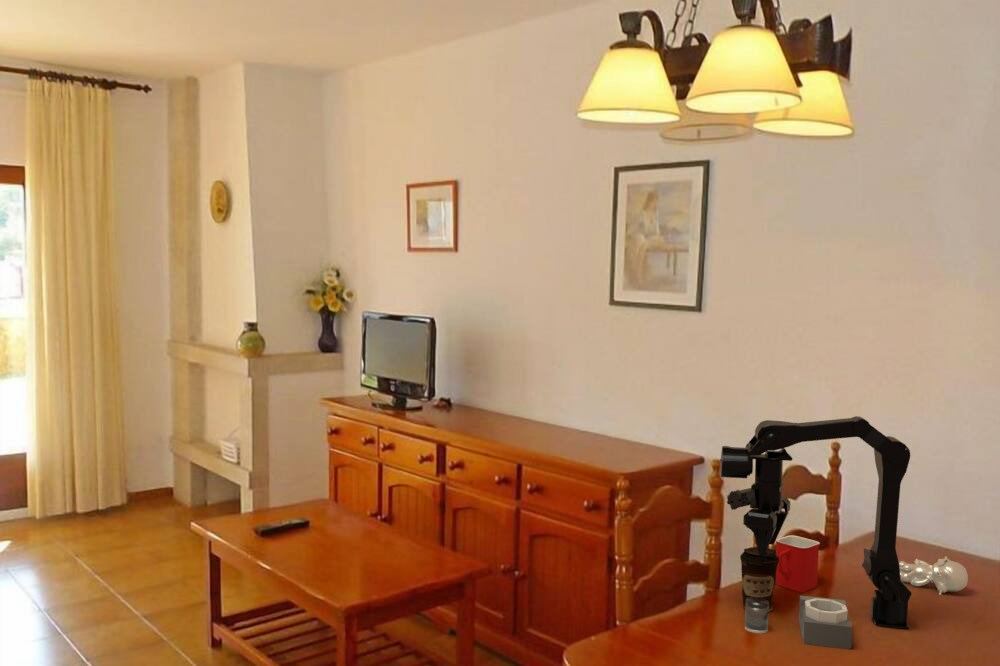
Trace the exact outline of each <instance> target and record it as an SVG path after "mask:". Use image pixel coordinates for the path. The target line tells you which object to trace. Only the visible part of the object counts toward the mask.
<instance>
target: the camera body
mask: <svg viewBox="0 0 1000 666" xmlns="http://www.w3.org/2000/svg"><path fill="white" fill-rule="evenodd" d="M798 624H799V629H800V634H801V638H802V643H803V644H804V645H812V646H821V647H828V648H837V649H846V650H847V649H848V650H852V640H853V639H852V637H853V625H852V623H851V620H850V617H849V614H848V609H847V601H846V600H844V599H836V598H828V597H827V598H826V597H820V596H819V597H818V596H807V595H799V612H798Z"/></svg>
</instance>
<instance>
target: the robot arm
mask: <svg viewBox="0 0 1000 666" xmlns="http://www.w3.org/2000/svg"><path fill="white" fill-rule="evenodd" d="M848 438H859V439H860V440H862V441H863V442H865V443H866V444H867V445H868V446H869V447H871V448H873V452H874V453H873V454H874V462H875V467H876V473H877V476H878V484H877V485H878V487H877V498H876V509H875V510H876V512H875V513H876V514H875V525H874V537H873V543H872V545H871V547H870V548H863V558H864V559H863V562H862V563H861V567H862V568H863V569H864V573H865V574H866V576H867V577H868V579H869V580H870V582H871V583H872V584H873V585H874V586H875V588H876V589H874V596H872V597H871V599H870V601H871V602H870V618H871V619H872V620H873V622H874V624H875V625H876V626H879V627H887V628H896V629H897V628H898V629H905V630H909V629H910V625H909V624H908V615H909V614H908V611H909V601H910V598H911V597H912V594H913V593H912V592H911V590H910V589H909V587H907V586H906V584H905V582H902V581H901V577H900V571H901V570H900V567H899V563H900V561H899V557H898V554H897V547H896V546H897V533H898V519H899V510H900V509H899V507H900V496H901V495H900V493H901V485H902V484H901V483H902V481H903V480H904V476H906V473H907V472H908V471H907V470H908V467H909V463H910V460H911V451H910V448H909V447H908V446H907V445H906V444H905V443H904V442H902V441H900V440H899V439H897V438H896V437H894V436H886V435H885V434H883V432H881V431H879V430H878V429H877V428H875V427H874V426H873V425H871V424H870V422H869V421H868V420H867V419H866V418H863V417H862V416H853V417H852V416H851V417H848V418H839V419H828V420H827V419H826V420H816V421H806V422H790V421H782V420H769V419H767V420H766V419H765V420H763V421H761V422H759V423H758V425H756V427H755V429H754V435H753V436H752V438H751V439H750V440H749V441H748V442H747V443H746V445H745V447H735V446H728V445H723V446H721V455H720V458H719V475H720V478H728V479H730V478H731V479H748V477H749V476H751V475H752V474H753V473H754V483H752V484H751V486H750V488H745V489H740V490H739V489H736V490H732V491H730V492H729V494H728V495H727V496H726V498H727V501H726V503H727V505H729V506H730V510H733V511H734V510H735V511H736V510H737V509H739V508H743V507H748V506H749V508H750V509H749V510H748V511H747V512H746V513H745V514H744V515H743V522H742V523H743V524H742V525H744V526H745V527H746V528H747V529H750V530H751V532H752V534H753V536H754V540H755V544H756V547H757V548H758V552H759V555H761V556H764V555H765V553H766V551H767V548H769V545H772V546H773V545H775V543H776V539H778V536H779V534H780V531H781V530H782V528H783V525H784V523H785V522H786V519H787V517H788V515H789V512H790V510H791V501H790V500H789V499H788V497H786V496H783V490H784V488H785V483H783V466H784V465H783V464H784V461H789V462H790V461H793V459H794V458H793V457H792V455H790V453H788V451H787V450H786V448H789V447H792V446H794V445H797V444H799V443H803V442H814V441H817V442H818V441H824V440H825V441H826V440H839V439H848ZM754 460H755V463H754ZM754 467H755V468H754ZM753 471H754V472H753ZM783 510H784V511H783Z"/></svg>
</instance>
